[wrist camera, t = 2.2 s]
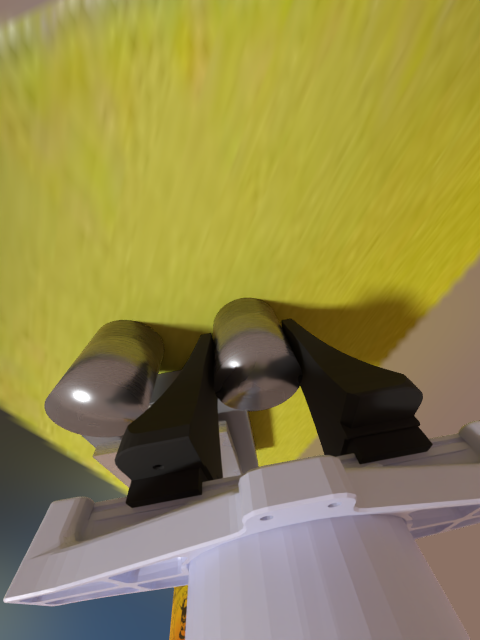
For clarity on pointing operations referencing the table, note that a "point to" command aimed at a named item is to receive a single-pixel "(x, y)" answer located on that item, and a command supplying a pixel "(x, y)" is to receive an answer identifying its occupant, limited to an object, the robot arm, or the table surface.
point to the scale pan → (229, 457)
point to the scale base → (234, 418)
